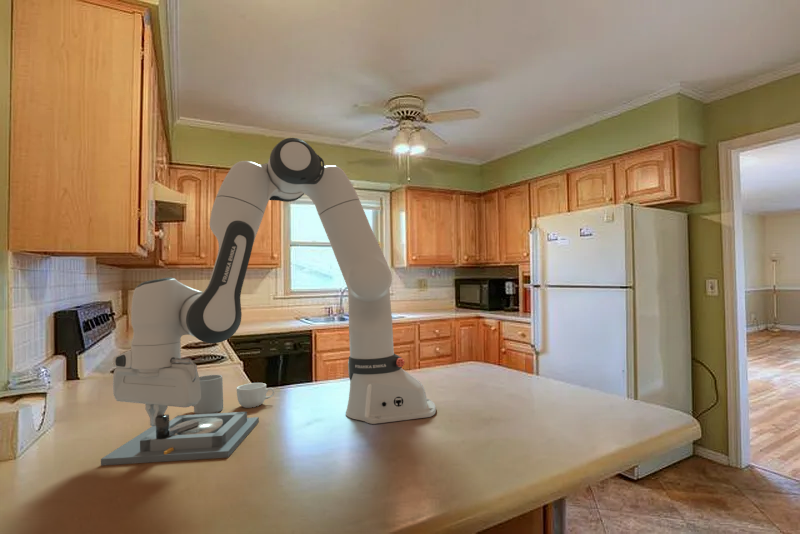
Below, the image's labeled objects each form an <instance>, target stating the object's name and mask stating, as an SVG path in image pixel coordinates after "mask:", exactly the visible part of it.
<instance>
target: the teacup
mask: <svg viewBox="0 0 800 534" xmlns="http://www.w3.org/2000/svg"><path fill="white" fill-rule="evenodd" d="M270 390H271V391H272V394H271V395H268V396H267V394H268V392H269V391H270ZM274 395H275V389H274V388H273V387H268V388H267V384H266V383H263V382H252V383H251V382H250V383H245V384H241V385H239V386H236V396H237V397H236V398H237V402H238V404H239V405H240V406H241V407H242V408H245V409H252V407H253V408H257V407H260V406H261V405H262V404H263V403H264V402H265V400H267V399H271V398H272V397H273V396H274ZM259 405H260V406H259ZM256 406H257V407H256Z"/></svg>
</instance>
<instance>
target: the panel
mask: <svg viewBox="0 0 800 534" xmlns="http://www.w3.org/2000/svg"><path fill="white" fill-rule="evenodd" d="M210 417H213V418H220V419H222V420H223V427H221V428H220V429H219V430H218V431H217V432H216V433H205V434H188V435H170V436H168V437H166V438H161V439H157V438H156V426H151V427H149V428H147V429H145V430H144V431H143V432H141V433H139V434H138V435H136V436H135V437H133V438H132V439H130V440H128V441H127V442H126V443H124V444H122V445H120V446H119V447H117V448H116V449H114V450H113V451H111V452H109V453H107V454H106V455H105V456H104V457H102V458H100V466H113V465H127V464H145V463H160V462H161V463H162V462H163V463H164V462H174V461H175V462H176V461H190V460H191V461H192V460H194V461H195V460H206V459H208V460H210V459H223V458H224V459H225V458H230V456H231V455H232V454H233V452H235V450H236V449H237V448H238V447H239V446H240V445H241V444H242V442H243V441H244V440H245V438H247V436H248V435H249V434H250V433H251V432H252V430H253V429H254V428H255V427H257V425H258V424H259V422H260V421H259V420H260V419H259V416H256V417H255V416H254V417H252V416H251V417H248V412H247V411H236V412H235V411H233V412H217V413H214V414H183V415H182V414H181V415H177V416H175V417H173V418H172V419H171V420H170V419H169V428H173V427H174V426H176V425H178V424H180V423H182V422H185V421H189V420H193V419H199V418H210Z"/></svg>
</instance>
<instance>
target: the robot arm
mask: <svg viewBox="0 0 800 534" xmlns="http://www.w3.org/2000/svg"><path fill="white" fill-rule="evenodd" d="M303 196H307V197H308V198H309V199H310V200H311V201H312V202H313V204H314V206H315V209H316V212H317V214H318V217H319V220H320V222H321V224H322V226H323V229H324V232H325V233H326V236H327V239H328V241H329V244H330V246H331V248H332V251H333V253H334V254H333V255H334V256H335V259H336V262H337V264H338V266H339V270H340V272H341V273H342V274H341V275H342V277H343V279H344V280H343V281H344V282H345V285H346V287H347V293H348V294H347V295H348V299H347V300H348V333H349V335H348V337H349V339H348V340H349V342H348V343H349V356H348V361H347V367H348V368H347V369H348V370H347V371H348V379H349V381H350V382H349V391H348V392H349V393H348V401H347V406H346V411H345V416H346V417H348V418H350V419H353V420H356V421H357V420H358V421H363V422H365V423H368V424H370V425H372V424H373V425H375V424H376V425H377V424H384V423H393V422H400V421H408V420H415V419H422V418H423V419H424V418H431V417H432V416H434V415H435V414H436V412H437V409H436V408H437V407H436V404H435V402H434V401H433V400H432V399H429V398H427V394H426V390H425V387H424V385H423V384H422V382H420V380H419V379H417V378H416V377H414V376H413V375H411V374H410V373H409V372H408V371H406V370H404V369H403V367H404V366H405V359H404V358H403V357H402V356H400V355H399V354H398V355H397V354H396V353H395V352H394V331H393V314H392V305H391V292H390V291H391V286H392V280H393V275H392V271H391V268H390V267H389V265H388V262H387V260H386V257H385V256H384V253H383V251H382V248H381V245H380V244H379V242H378V240H377V238H376V235H375V233H374V232H373V229H372V226H371V224H370V222H369V220H368V217H367V215H366V213H365V210H364V207H363V205H362V202H361V199H360V198H359V196H358V194H357V192H356V189H355V187H354V186H353V184H352V181H351V180H350V179H349V177H348V175H347V174H346V172H345V171H344V170H343V169H342V168H341V167H339V166H337V165H325V161H324V159H323V158H322V157H321V156H320V155H319V154H317V152H316V151H315V150H314V148H312V146H310V144H309V143H307V142H306V141H304V140H303V139H300V138H297V137H288V138H285V139H282V140H281V141H279V142H278V143H277V144H276V145H275V146H274V147H273V148H272V150H271V152H270V156H269V158H268V161H267V163H263V164H262V163H259V164H258V163H256V162H254V161H251V160H250V161H249V160H242V161H241V160H240V161H238V162H236V163H234V164H233V165H232V166H231V167H230V169H229V170H228V172H227V174H226V176H225V177H224V178H223V181H222V183H221V185H220V186H219V189H218V191H217V194H216V196H215V199H214V202H213V205H212V207H211V211H210V212H211V213H210V216H209V217H210V218H209V228H210V230H211V232H212V234H213V235H214V236H215V237H216V240H217V243H218V251H217V256H216V259H215V262H214V264H213V265H214V266H213V268H212V272H211V275H210V277H209V278H210V279H209V282H208V285H207V286H206V287H205V290H203V291H201V290H198V289H195V288H193V287H190V286H188V285H186V284H184V283H182V282H180V281H179V280H177V279H176V278H175V277H163V278H155V279H151V280H147V281H146V280H145V281H142V282H141V283H139V284H138V285H136V287H135V288H134V291H133V294H132V299H131V310H130V311H131V312H130V315H131V316H130V318H131V319H130V322H131V323H130V324H131V326H132V329H133V335H132V340H131V342H130V345H131V346H130V348H131V349H130V350H128V351H125V352H123V353H121V354H120V353H119V354H118V355H115V356H114V357H113V358H112V366H113V367H114V368H115V369H114V371H113V375H112V376H113V377H112V392H113V393H112V394H113V396H114V399H115V400H116V402H120V403H121V402H122V403H124V402H125V403H132V404H134V403H135V404H142V405H144V407H145V411H146V414H147V416H148V417H149V425H150V426H151V427H152V426H156V417H157V416H160V415H165V413H166V411H167V409H168V407H176V408H177V407H178V408H189V407H193V405H195V404H197V403H198V402H199V401H200V399H201V389H200V381H199V377H200V375H199V372H198V365H197V364H196V363H195V362H194V361H193V360H192V359H190V358H182V357H181V355H182V353H181V352H182V351H181V348H182V347H181V344H182V343H181V341H182V340H181V338H182V337H183V336H187V335H188V336H191V337H195V338H196V339H198V341H200V342H203V343H207V344H219V343H222V342H225V341H227V340H228V339H231V337H233V335H235V334H236V332H237V331H238V330H239V328H240V325H241V322H242V316H243V315H242V307H241V306H242V304H241V293H242V288H243V285H244V283H245V282H244V281H245V278H246V274H247V270H248V266H249V263H250V259H251V254H252V251H253V247H254V244H255V240H256V237H257V234H258V232H259V230H260V227H261V223H262V221H263V218H264V215H265V211H266V208H267V206H268V202H269V201H279V202H284V203H288V202H289V203H290V202H294V201H297V200H299V199H301V197H303Z"/></svg>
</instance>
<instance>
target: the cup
mask: <svg viewBox="0 0 800 534" xmlns="http://www.w3.org/2000/svg"><path fill="white" fill-rule="evenodd" d="M199 381H200V389H201V399H200V401H199V402H198V403H197V404H195V405H193V406H192V407H193V412H194V415H197V414H214V413H221V411H223V409H224V388H223V387H224V386H223V381H224V380H223V375H221V374H210V375H202V376H199Z"/></svg>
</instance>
